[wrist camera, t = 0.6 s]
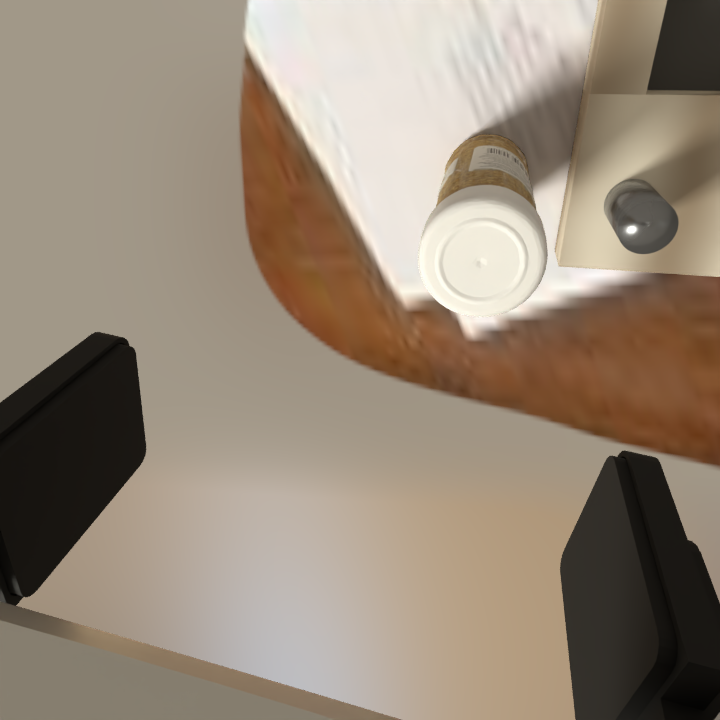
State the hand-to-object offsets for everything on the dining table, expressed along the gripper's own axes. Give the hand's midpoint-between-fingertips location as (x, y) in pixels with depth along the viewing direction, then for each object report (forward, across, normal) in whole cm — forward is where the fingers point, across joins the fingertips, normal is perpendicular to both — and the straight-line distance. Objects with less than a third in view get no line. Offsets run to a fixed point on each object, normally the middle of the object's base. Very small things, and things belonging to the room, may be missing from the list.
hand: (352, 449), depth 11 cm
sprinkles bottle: (+24, -2, 0) cm, 25 cm away
